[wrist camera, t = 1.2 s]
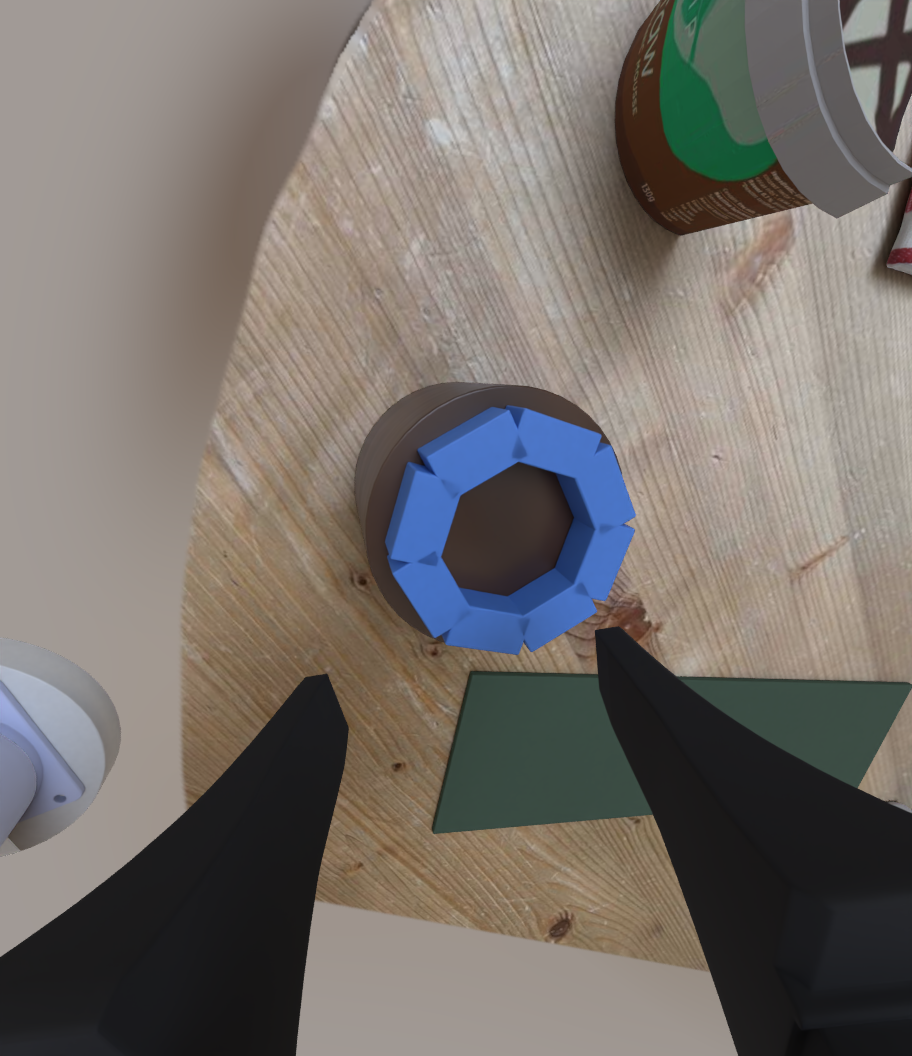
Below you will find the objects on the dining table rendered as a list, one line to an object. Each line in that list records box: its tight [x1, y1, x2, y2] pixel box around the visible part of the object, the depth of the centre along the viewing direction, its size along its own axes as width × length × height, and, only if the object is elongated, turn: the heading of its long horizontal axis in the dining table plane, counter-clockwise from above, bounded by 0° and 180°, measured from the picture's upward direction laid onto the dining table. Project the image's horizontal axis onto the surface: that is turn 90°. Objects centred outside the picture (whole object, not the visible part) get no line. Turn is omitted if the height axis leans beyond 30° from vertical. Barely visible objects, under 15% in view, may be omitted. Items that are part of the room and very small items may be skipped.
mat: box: [432, 671, 912, 834], centre depth 34 cm, size 40×12×1 cm, turn 78°
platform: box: [355, 382, 622, 643], centre depth 20 cm, size 10×10×7 cm
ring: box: [385, 405, 636, 655], centre depth 16 cm, size 8×8×2 cm
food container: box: [615, 0, 912, 235], centre depth 15 cm, size 12×6×10 cm, turn 170°
